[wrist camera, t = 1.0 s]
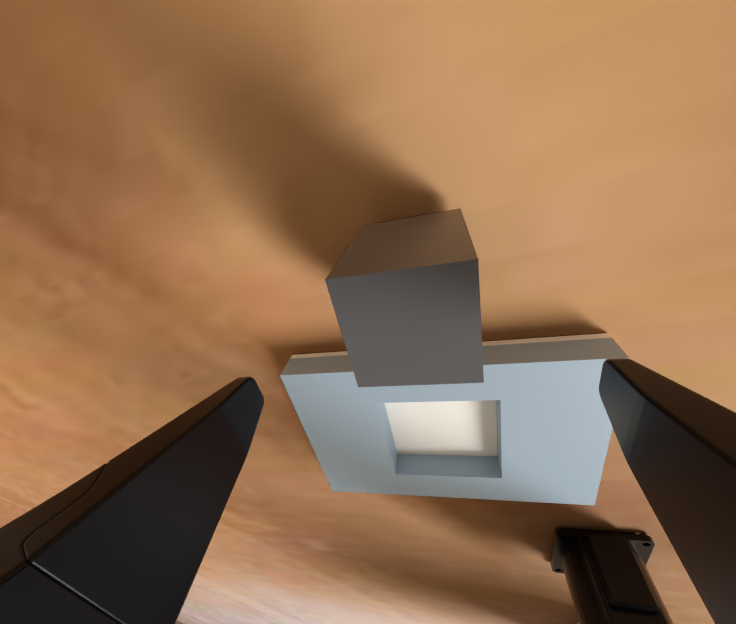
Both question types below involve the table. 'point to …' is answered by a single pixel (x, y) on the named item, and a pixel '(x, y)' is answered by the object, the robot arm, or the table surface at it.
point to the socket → (465, 424)
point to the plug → (410, 302)
